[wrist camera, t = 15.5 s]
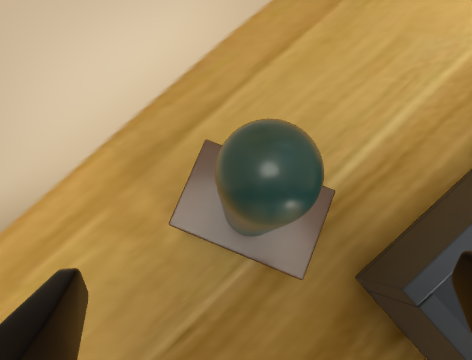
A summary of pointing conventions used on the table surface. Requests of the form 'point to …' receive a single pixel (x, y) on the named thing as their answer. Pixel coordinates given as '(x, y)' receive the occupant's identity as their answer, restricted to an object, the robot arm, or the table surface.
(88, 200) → the table surface
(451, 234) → the basket
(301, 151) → the teal handled stamp
